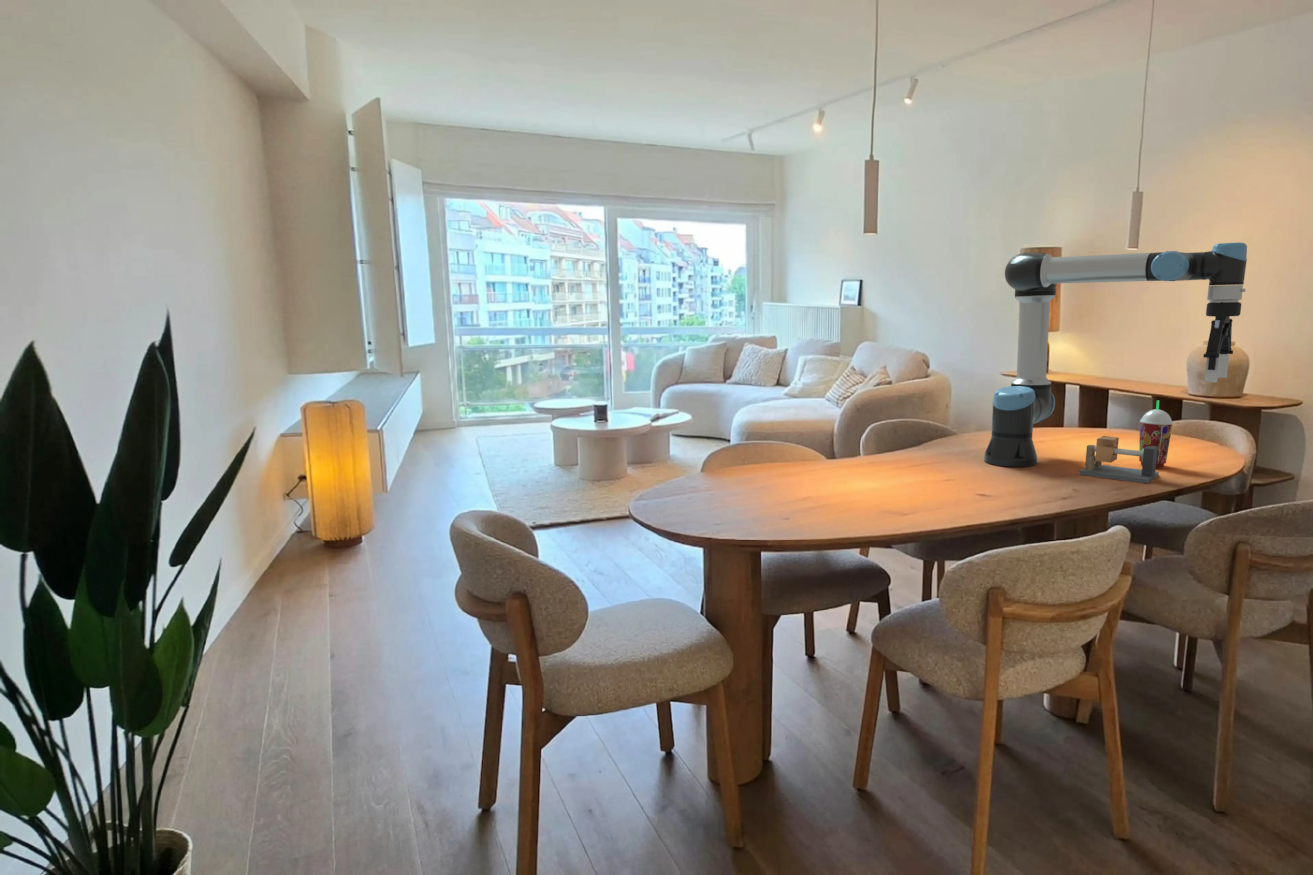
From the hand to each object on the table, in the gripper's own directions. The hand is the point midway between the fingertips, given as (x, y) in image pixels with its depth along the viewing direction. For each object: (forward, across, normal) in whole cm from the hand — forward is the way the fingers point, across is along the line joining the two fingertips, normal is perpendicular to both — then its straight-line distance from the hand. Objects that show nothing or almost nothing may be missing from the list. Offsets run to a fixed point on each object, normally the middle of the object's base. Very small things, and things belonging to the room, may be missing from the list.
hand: (1215, 379), depth 207 cm
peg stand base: (+28, -12, +18) cm, 35 cm away
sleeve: (+24, -12, +22) cm, 34 cm away
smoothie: (+28, +7, +14) cm, 32 cm away
